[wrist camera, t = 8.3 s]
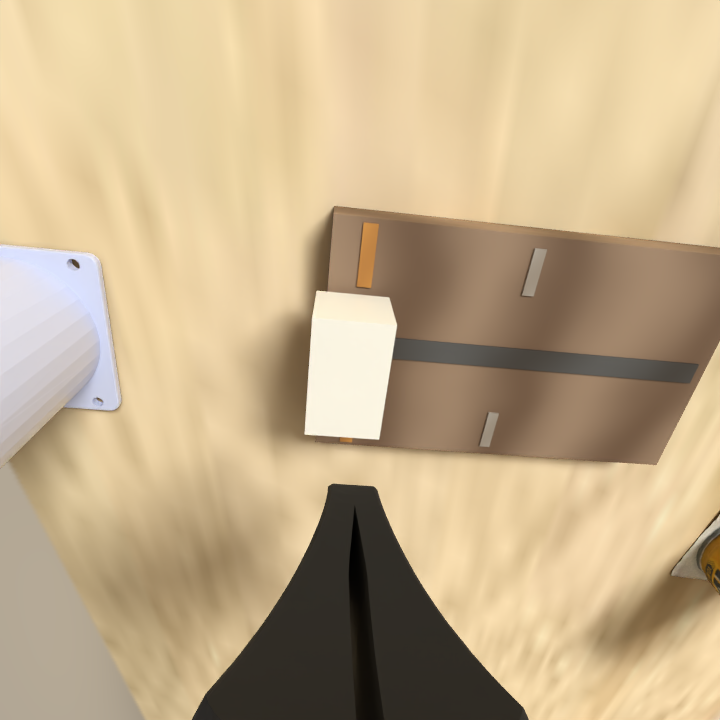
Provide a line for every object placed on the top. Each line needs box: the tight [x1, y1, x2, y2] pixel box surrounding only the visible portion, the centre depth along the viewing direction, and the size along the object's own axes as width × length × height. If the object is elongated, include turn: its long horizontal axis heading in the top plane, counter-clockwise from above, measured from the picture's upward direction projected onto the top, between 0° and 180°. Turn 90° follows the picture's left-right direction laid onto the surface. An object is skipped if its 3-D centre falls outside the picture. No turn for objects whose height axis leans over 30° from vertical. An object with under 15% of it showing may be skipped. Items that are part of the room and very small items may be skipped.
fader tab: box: [305, 291, 397, 440], centre depth 18 cm, size 3×5×3 cm, turn 174°
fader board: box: [315, 206, 720, 465], centre depth 22 cm, size 18×11×2 cm, turn 84°
